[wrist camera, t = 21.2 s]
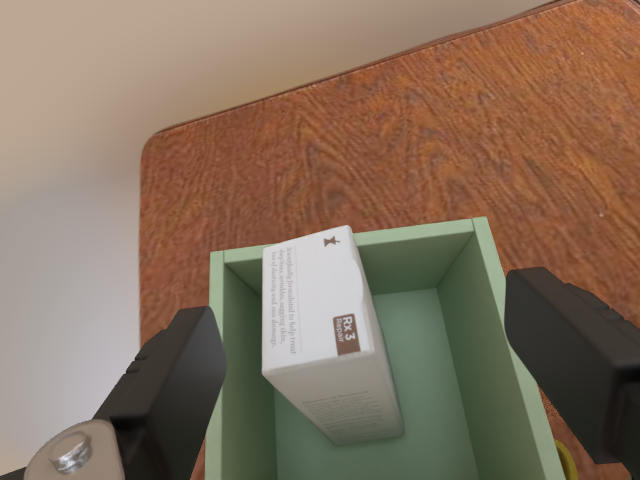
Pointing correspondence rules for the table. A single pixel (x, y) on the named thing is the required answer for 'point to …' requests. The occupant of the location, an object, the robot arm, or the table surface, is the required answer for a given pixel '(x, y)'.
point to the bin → (407, 366)
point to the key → (566, 461)
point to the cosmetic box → (327, 338)
